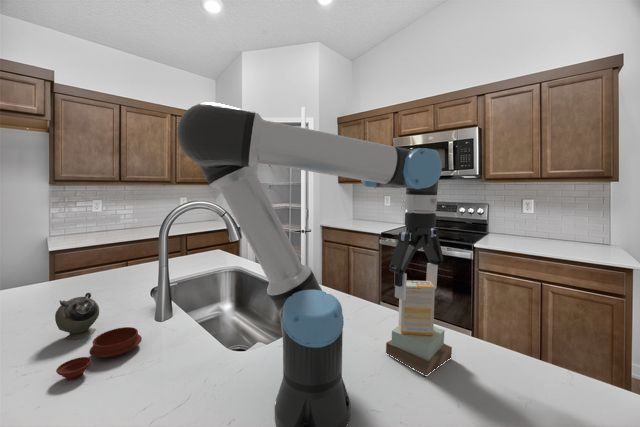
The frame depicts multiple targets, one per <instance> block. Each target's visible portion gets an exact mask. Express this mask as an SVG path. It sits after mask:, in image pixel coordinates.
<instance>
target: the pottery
mask: <svg viewBox="0 0 640 427" xmlns="http://www.w3.org/2000/svg"><path fill="white" fill-rule="evenodd" d="M142 339H143V338H142V336H141V335H140V334H139V331H138V329H137V328H135V327H131V326H130V327H129V326H126V327H125V326H124V327H117V328H114V329H109V330H107V331H105V332H102V333H101V334H98V336H96V337H95V338H94V339H93V341H92V346H91V347H90V349H89V355H90V356H91V357H94V358H115V357H119V356H121V355H124V354H126V353H127V352H129V351H131V350H132V349H135V348H136V347H137V346H138V345H140V343H141V342H142ZM91 357H88V356H79V357H75V358H72V359H70V360H68V361H65V362H63V363H62V364H60V365H59V366H58V367H57V368H56V370H55V372H56V374H57V375H59V376H61V377H63V378H65V379H67V380H66V381H76V380H78V379H81V377H83V375H84V372H85V371H86V370H88V368H89V367H90V366H91V363H92V358H91Z"/></svg>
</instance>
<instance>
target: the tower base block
mask: <svg viewBox="0 0 640 427" xmlns="http://www.w3.org/2000/svg"><path fill="white" fill-rule="evenodd" d="M385 343H386V344H385V345H386V346H385V354H386V353H387V354H389V355H391V356H393V357H394V358H396V359H398V360H399V361H401V362H403V363H404V364H406V365H408V366H410V367H411V368H414V369H415V370H417V371H419V372H421V373H423V374H424V375H428V374H429V373H430V372H432V371H433V370H434V369H436V368H437V367H438V366H440V365H441V364H443V363H444V362H445V361H447V360H448V359H450V358H451V359H452V348H453V347H452V346H450V345H448V344H446V343H444V345H443V346H442V347H441V348H440V349H439V350H438V351H437V352H436V353H435V354H434V355H433V356H432V357H431V359H430V360H429V361H428V360H425V359H423V358H421V357H418V356H416V355H414V354H411V353H409V352H407V351H404V350H402V349H400V348H397V347H395V346H393V345H392V339H391V340H388V341H387V342H385ZM404 364H403V365H404Z"/></svg>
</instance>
